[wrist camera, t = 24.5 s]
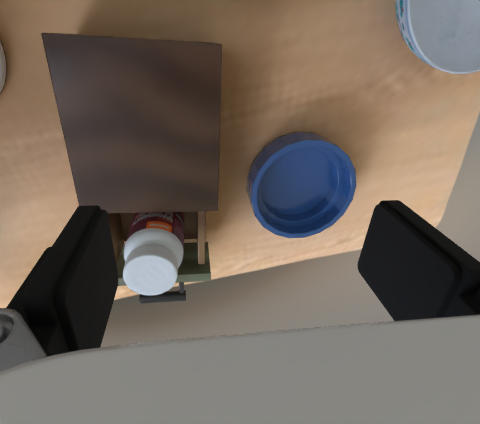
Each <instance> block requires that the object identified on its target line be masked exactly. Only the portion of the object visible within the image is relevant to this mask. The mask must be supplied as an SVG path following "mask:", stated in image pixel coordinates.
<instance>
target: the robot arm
mask: <svg viewBox="0 0 480 424" xmlns="http://www.w3.org/2000/svg"><path fill="white" fill-rule="evenodd" d="M5 77H6V60H5V56H4V51H3V47H2V45H1V42H0V93H1V91H2V88H3V86H4V83H5ZM358 270H359V272H360V274H361V275H362V277H363V278H364V279H365V281H366V282H367V284H368V285H369V286H370V288H371V289H372V291H373V292H374V293H375V295H376V296H377V297H378V299H379V300H380V301H381V303H382V304H383V306H384V307H385V308H386V310H387V311H388V312H389V314H390V315H391V317H392V318H393V319H394V321H391V322H378V323H364V324H352V325H340V326H328V327H315V328H304V329H291V330H279V331H268V332H257V333H245V334H234V335H222V336H212V337H200V338H188V339H177V340H166V341H155V342H144V343H133V344H126V345H117V346H109V347H102V348H100V346H101V343H102V339H103V336H104V332H105V329H106V325H107V321H108V318H109V315H110V311H111V308H112V304H113V301H114V297H115V294H116V290H117V287H118V271H117V265H116V259H115V253H114V248H113V242H112V236H111V230H110V225H109V219H108V213H107V211H106V210H101V208H100V206H99V205H90V206H79V207H78V208H77V209H76V211H75V212H74V214H73V215H72V217H71V218H70V220H69V222H68V223H67V225H66V226H65V228H64V229H63V231H62V232H61V234H60V235H59V237H58V238H57V240H56V241H55V243H54V244H53V246H52V247H49V248H47V249H46V250H45V251H44V253H43V254H42V256H41V257H40V259H39V260H38V262H37V263H36V265H35V266H34V268H33V269H32V271H31V272H30V274H29V275H28V277H27V278H26V280H25V281H24V282H23V284H22V285H21V287H20V288H19V290H18V291H17V293H16V294H15V296H14V297H13V299H12V300H11V302H10V303H9V305H8V306H7V308H0V424H480V262H479V261H477V260H476V259H475V258H473V257H472V256H471V255H469V254H468V253H467V252H466V251H464V250H463V249H462V248H460V247H459V246H458V245H457V244H455V243H454V242H453V241H451V240H450V239H449V238H447V237H446V236H445V235H443V234H442V233H441V232H440V231H438V230H437V229H436V228H434V227H433V226H432V225H431V224H429V223H428V222H427V221H425V220H424V219H423V218H421V217H420V216H419V215H418V214H416V213H415V212H414V211H412V210H411V209H410V208H408V207H407V206H406V205H405V204H403V203H402V202H401V201H399V200H391V201H381V202H380V203H379V205H376V207H375V208H374V212H373V215H372V218H371V221H370V225H369V228H368V231H367V235H366V238H365V241H364V244H363V248H362V251H361V254H360V258H359V261H358Z"/></svg>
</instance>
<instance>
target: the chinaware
mask: <svg viewBox="0 0 480 424" xmlns="http://www.w3.org/2000/svg"><path fill="white" fill-rule="evenodd" d="M396 17H397V22H398V26H399V30H400V32H401V35H402V37H403V39H404V41H405V42H406V44H407V45H408V47H409V48H410V49H411V51H412V52H413V53H414V54H415V55H416V56H417V57H419V58H420V59H421V60H422V61H424V62H425V63H427V64H428V65H430V66H432V67H434V68H436V69H439V70H441V71H444V72H448V73H454V74H467V73H473V72H477V71H480V0H396Z"/></svg>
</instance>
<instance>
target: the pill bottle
mask: <svg viewBox="0 0 480 424" xmlns="http://www.w3.org/2000/svg"><path fill="white" fill-rule="evenodd" d="M183 254H184V214H183V212H152V213H135V215H134V218H133V221H132V224H131V227H130V231H129V234H128V237H127V240H126V243H125V247H124V259H125V266H124V269H123V279H124V282H125V284H126V285H127V286H128V287H129V288H130V289H131V290H133V291H134V292H136V293H139V294H142V295H158V294H162V293H164V292H166V291H168V290H169V289H171V288H172V287H173V285H174V284H175V282H176V280H177V275H178V268H179V266H180V264H181V262H182V259H183Z"/></svg>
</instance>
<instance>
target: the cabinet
mask: <svg viewBox="0 0 480 424" xmlns="http://www.w3.org/2000/svg"><path fill="white" fill-rule="evenodd" d="M41 35H42V39H43V44H44V48H45V53H46V57H47V62H48V66H49V71H50V75H51V80H52V84H53V89H54V93H55V98H56V102H57V107H58V112H59V116H60V121H61V125H62V130H63V134H64V139H65V143H66V148H67V152H68V157H69V161H70V166H71V170H72V175H73V179H74V184H75V189H76V193H77V198H78V202H79V206H90V205H99V206H100V208H101V210H106V211H107V213H152V212H201V211H218V180H219V139H220V98H221V58H222V44H218V43H209V42H193V41H178V40H162V39H146V38H130V37H114V36H98V35H83V34H60V33H41Z"/></svg>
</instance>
